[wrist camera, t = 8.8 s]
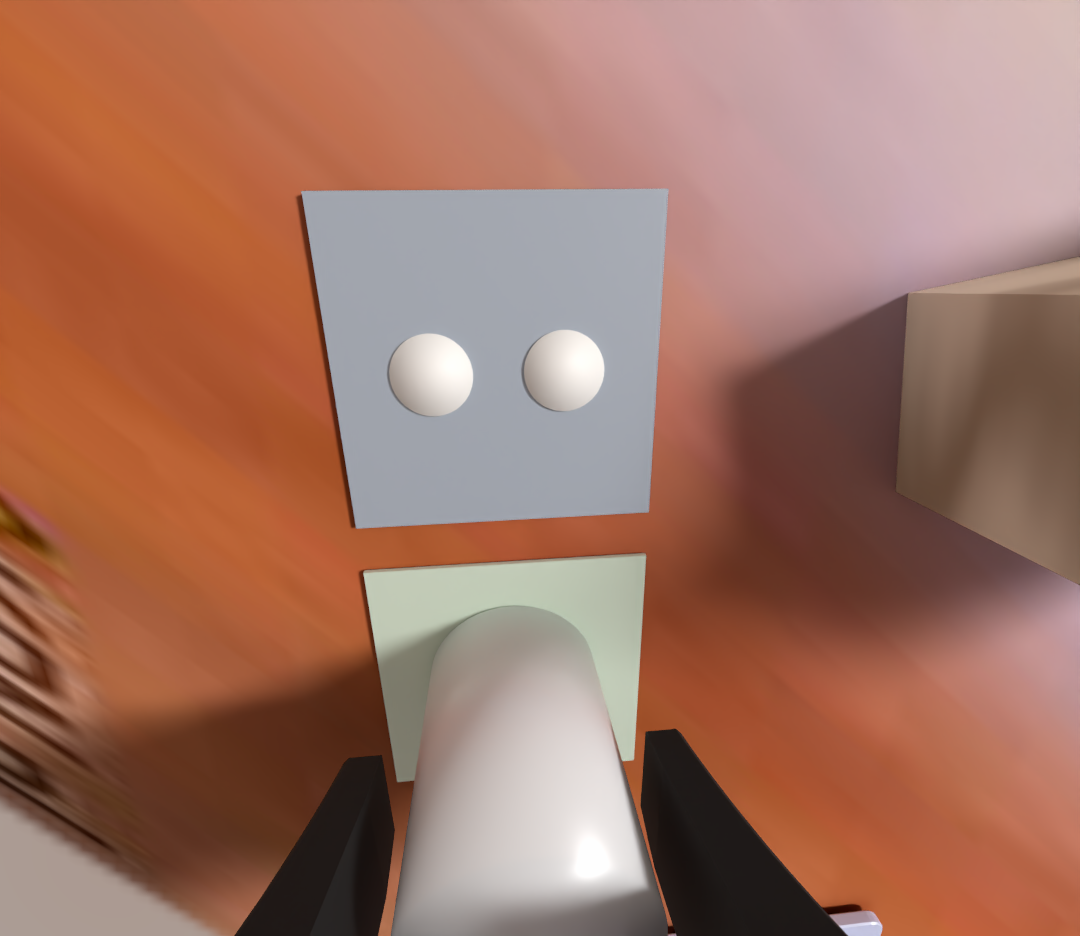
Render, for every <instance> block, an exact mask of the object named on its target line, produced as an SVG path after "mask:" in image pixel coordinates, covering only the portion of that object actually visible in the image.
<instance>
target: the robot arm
mask: <svg viewBox="0 0 1080 936" xmlns="http://www.w3.org/2000/svg"><path fill="white" fill-rule="evenodd" d="M641 809H642V814H643V818H644V823H645V827H646V832H647V837H648V841H649V845H650V850H651V854H652V858H653V862H654V867H655V870H656V873H657V876H658V880H659V883H660V886H661V889H662V892H663V895H664V898H665V902H666V905H667V908H668V911H669V914H670V917H671V920H672V923H673V926H674V930H675V933H673V934H668V936H880V935H881V933H882V925H881V923H880V921H879V920H878V918H877V916H876V915H875V914H874V913H873V912H871V911H868V910H863V911H855V912H846V913H838V914H830V915H828V914H827V913H826V912H825V911H824V909H823V908H822V907H821V906H820V905H819V904H818V903H817V902H816V901H815V900H814V899H813V897H812V896H811V895H810V894H809V893H808V892H807V891H806V890H805V888H804V887H803V886H802V885H801V884H800V883H799V882H798V881H797V879H796V878H795V877H794V876H793V875H792V874H791V873H790V872H789V871H788V869H787V868H786V867H785V866H784V865H783V864H782V862H781V861H780V860H779V859H778V858H777V857H776V855H775V854H774V853H773V852H772V851H771V850H770V848H769V847H768V846H767V845H766V844H765V842H764V841H763V840H762V839H761V837H760V836H759V835H758V834H757V833H756V831H755V830H754V829H753V828H752V826H751V825H750V824H749V823H748V822H747V820H746V819H745V818H744V817H743V816H742V814H741V813H740V812H739V811H738V809H737V808H736V807H735V806H734V804H733V803H732V802H731V800H730V799H729V798H728V797H727V795H726V794H725V793H724V791H723V790H722V789H721V787H720V786H719V785H718V784H717V782H716V781H715V780H714V778H713V777H712V776H711V774H710V773H709V772H708V770H707V769H706V768H705V766H704V765H703V764H702V762H701V761H700V759H699V758H698V757H697V755H696V754H695V753H694V751H693V750H692V748H691V747H690V746H689V744H688V743H687V741H686V740H685V739H684V737H683V736H682V734H681V733H680V732H679V731H678V730H676V729H670V730H659V731H648V732H646V736H645V750H644V765H643V779H642V793H641ZM394 831H395V829H394V823H393V817H392V812H391V806H390V800H389V794H388V788H387V783H386V777H385V771H384V765H383V759H382V755H379V756H368V757H357V758H349V759H348V760H347V761H346V762H345V763H344V764H343V766H342V768H341V769H340V771H339V773H338V775H337V776H336V778H335V780H334V782H333V783H332V785H331V787H330V789H329V790H328V792H327V794H326V795H325V797H324V799H323V801H322V802H321V804H320V806H319V807H318V809H317V811H316V812H315V814H314V816H313V817H312V819H311V820H310V822H309V824H308V825H307V827H306V829H305V830H304V832H303V833H302V835H301V837H300V838H299V840H298V841H297V843H296V845H295V846H294V848H293V849H292V851H291V852H290V854H289V855H288V857H287V858H286V860H285V862H284V863H283V865H282V866H281V868H280V869H279V871H278V872H277V874H276V875H275V877H274V879H273V880H272V882H271V883H270V885H269V886H268V888H267V889H266V891H265V892H264V894H263V895H262V897H261V898H260V900H259V901H258V903H257V904H256V906H255V907H254V908H253V910H252V911H251V913H250V914H249V916H248V917H247V918H246V920H245V921H244V923H243V924H242V926H241V927H240V928H239V930H238V931H237V933H236V934H235V936H378V932H379V928H380V923H381V918H382V914H383V909H384V904H385V900H386V894H387V886H388V879H389V872H390V864H391V856H392V848H393V840H394Z"/></svg>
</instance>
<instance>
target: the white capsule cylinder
mask: <svg viewBox="0 0 1080 936" xmlns="http://www.w3.org/2000/svg"><path fill="white" fill-rule="evenodd" d="M391 936H668V924H667V919H666V914H665V911H664V907H663V904H662V900H661V897H660V893H659V889H658V886H657V882H656V879H655V875H654V872H653V868H652V865H651V861H650V858H649V854H648V851H647V847H646V844H645V840H644V836H643V833H642V829H641V826H640V822H639V819H638V815H637V812H636V808H635V805H634V801H633V798H632V794H631V791H630V787H629V783H628V780H627V776H626V773H625V769H624V766H623V762H622V759H621V755H620V752H619V748H618V745H617V741H616V738H615V734H614V730H613V727H612V723H611V720H610V716H609V713H608V709H607V706H606V702H605V699H604V695H603V692H602V688H601V685H600V681H599V677H598V674H597V670H596V667H595V663H594V660H593V656H592V653H591V650H590V647H589V645H588V643H587V641H586V639H585V638H584V636H583V635H582V634H581V633H580V631H579V630H578V629H577V628H576V627H575V626H574V625H573V624H571V623H570V622H569V621H567V620H566V619H564V618H563V617H561V616H559V615H557V614H555V613H553V612H550V611H547V610H544V609H539V608H535V607H527V606H508V607H500V608H496V609H492V610H488V611H485V612H482V613H479V614H477V615H475V616H473V617H471V618H469V619H467V620H466V621H464V622H463V623H461V624H460V625H458V626H457V627H456V628H455V629H454V630H452V631H451V632H450V633H449V635H448V636H447V637H446V638H445V639H444V640H443V642H442V643H441V645H440V646H439V648H438V650H437V652H436V654H435V657H434V660H433V663H432V669H431V675H430V682H429V688H428V695H427V701H426V708H425V715H424V721H423V728H422V734H421V741H420V747H419V754H418V761H417V767H416V774H415V780H414V787H413V793H412V800H411V807H410V813H409V820H408V826H407V833H406V839H405V846H404V852H403V859H402V866H401V872H400V879H399V885H398V892H397V898H396V905H395V912H394V918H393V925H392V931H391Z"/></svg>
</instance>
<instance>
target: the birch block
mask: <svg viewBox="0 0 1080 936" xmlns="http://www.w3.org/2000/svg"><path fill="white" fill-rule="evenodd" d="M896 492H897V493H899V494H901V495H903V496H905V497H907V498H909V499H911V500H913V501H915V502H917V503H919V504H921V505H923V506H925V507H927V508H928V509H930V510H932V511H934V512H936V513H938V514H940V515H942V516H944V517H946V518H948V519H950V520H952V521H954V522H956V523H958V524H960V525H962V526H964V527H966V528H968V529H970V530H972V531H974V532H976V533H978V534H980V535H982V536H984V537H986V538H988V539H990V540H992V541H994V542H996V543H998V544H1000V545H1002V546H1004V547H1005V548H1007V549H1009V550H1011V551H1013V552H1015V553H1017V554H1019V555H1021V556H1023V557H1025V558H1027V559H1029V560H1031V561H1033V562H1035V563H1037V564H1039V565H1041V566H1043V567H1045V568H1047V569H1049V570H1051V571H1053V572H1055V573H1057V574H1059V575H1061V576H1063V577H1065V578H1067V579H1069V580H1071V581H1073V582H1075V583H1077V584H1079V585H1080V257H1075V258H1070V259H1066V260H1061V261H1056V262H1052V263H1047V264H1042V265H1038V266H1033V267H1028V268H1023V269H1019V270H1014V271H1009V272H1005V273H1000V274H995V275H991V276H986V277H981V278H976V279H972V280H967V281H962V282H958V283H953V284H948V285H944V286H939V287H934V288H929V289H925V290H920V291H915V292H911V293H908V303H907V319H906V335H905V350H904V366H903V382H902V398H901V414H900V429H899V445H898V461H897V477H896Z"/></svg>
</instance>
